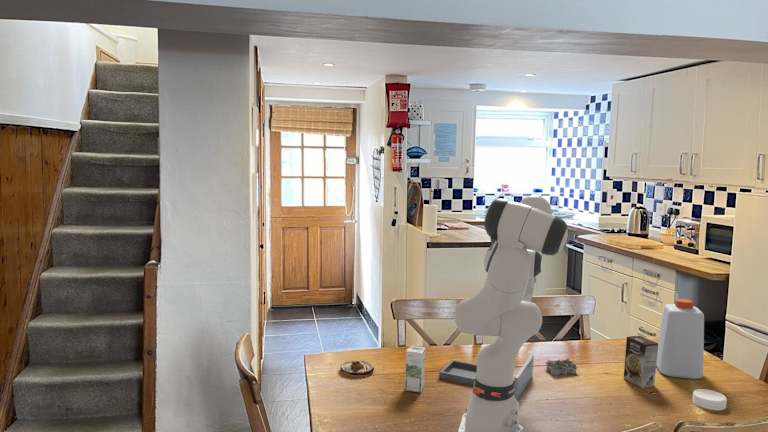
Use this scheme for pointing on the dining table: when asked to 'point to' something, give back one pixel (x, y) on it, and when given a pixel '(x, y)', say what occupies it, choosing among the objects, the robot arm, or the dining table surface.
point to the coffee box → (640, 361)
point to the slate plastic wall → (523, 377)
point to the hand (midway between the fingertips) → (519, 319)
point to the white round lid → (709, 399)
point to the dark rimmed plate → (357, 369)
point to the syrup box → (415, 369)
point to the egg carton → (561, 367)
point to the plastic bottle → (681, 341)
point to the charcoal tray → (459, 372)
